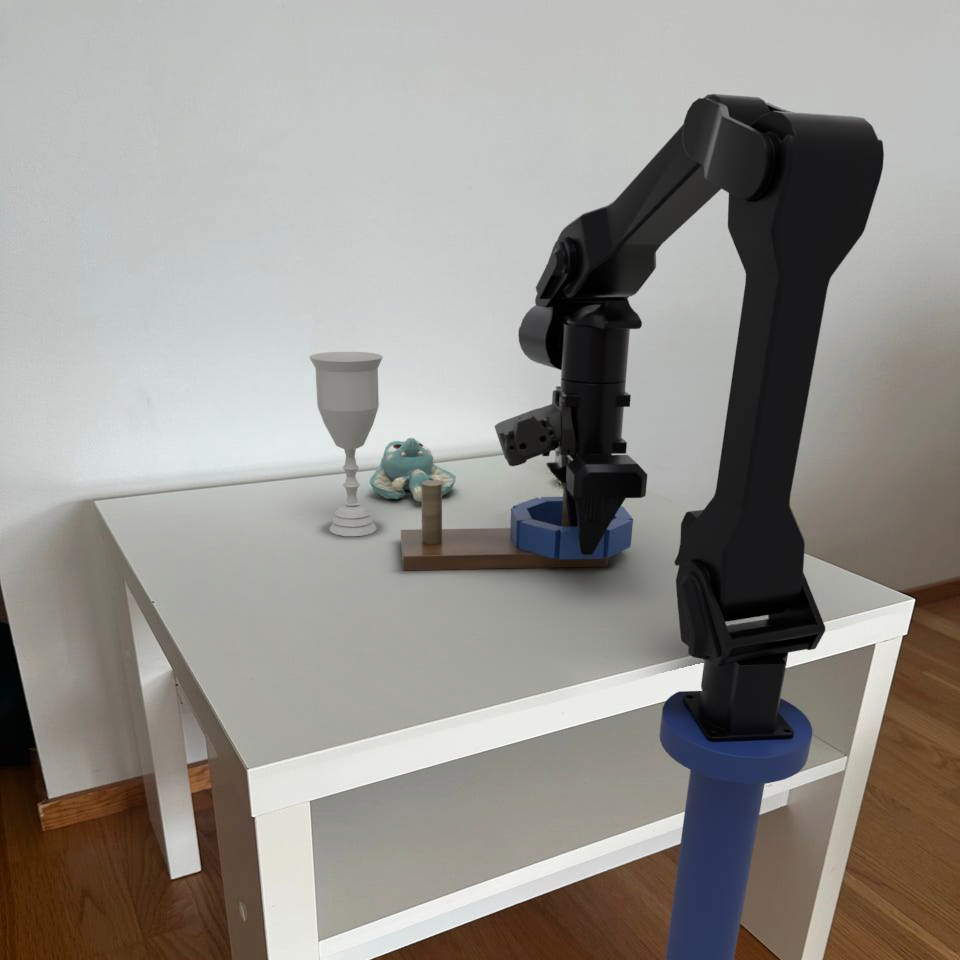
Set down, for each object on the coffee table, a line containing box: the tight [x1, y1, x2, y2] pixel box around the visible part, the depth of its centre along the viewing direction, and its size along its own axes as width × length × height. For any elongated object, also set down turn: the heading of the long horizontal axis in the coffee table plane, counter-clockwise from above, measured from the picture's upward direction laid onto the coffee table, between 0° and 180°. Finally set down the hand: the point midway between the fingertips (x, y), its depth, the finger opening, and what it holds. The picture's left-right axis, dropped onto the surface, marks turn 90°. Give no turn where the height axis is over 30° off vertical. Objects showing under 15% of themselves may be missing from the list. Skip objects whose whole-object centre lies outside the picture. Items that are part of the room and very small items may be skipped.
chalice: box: [309, 351, 384, 537], centre depth 97 cm, size 7×7×18 cm
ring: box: [509, 496, 634, 560], centre depth 94 cm, size 12×12×3 cm
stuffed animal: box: [369, 437, 457, 503], centre depth 112 cm, size 11×7×12 cm
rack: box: [400, 480, 609, 571], centre depth 93 cm, size 8×20×8 cm, turn 96°
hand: (582, 547), depth 89 cm, fingers open, 4 cm apart
